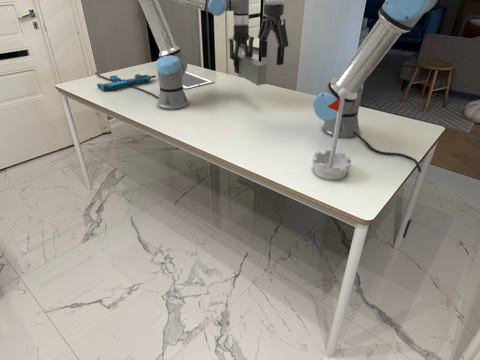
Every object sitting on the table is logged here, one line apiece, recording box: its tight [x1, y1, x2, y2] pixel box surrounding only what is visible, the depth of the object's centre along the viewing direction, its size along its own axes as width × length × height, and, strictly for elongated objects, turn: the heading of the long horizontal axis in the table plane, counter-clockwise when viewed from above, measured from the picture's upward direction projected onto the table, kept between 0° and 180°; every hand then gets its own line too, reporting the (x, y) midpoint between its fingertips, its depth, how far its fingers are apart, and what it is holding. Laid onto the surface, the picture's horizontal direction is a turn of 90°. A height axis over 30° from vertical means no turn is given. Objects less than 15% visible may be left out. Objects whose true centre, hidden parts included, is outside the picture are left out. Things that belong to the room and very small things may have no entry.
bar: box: [233, 52, 267, 86], centre depth 171 cm, size 26×5×9 cm, turn 26°
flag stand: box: [312, 88, 352, 181], centre depth 113 cm, size 13×13×30 cm
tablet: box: [182, 70, 214, 90], centre depth 213 cm, size 32×20×1 cm, turn 41°
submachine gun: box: [96, 73, 157, 92], centre depth 207 cm, size 34×4×25 cm
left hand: (241, 71), depth 180 cm, fingers closed on bar, 5 cm apart
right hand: (271, 60), depth 141 cm, fingers open, 13 cm apart
